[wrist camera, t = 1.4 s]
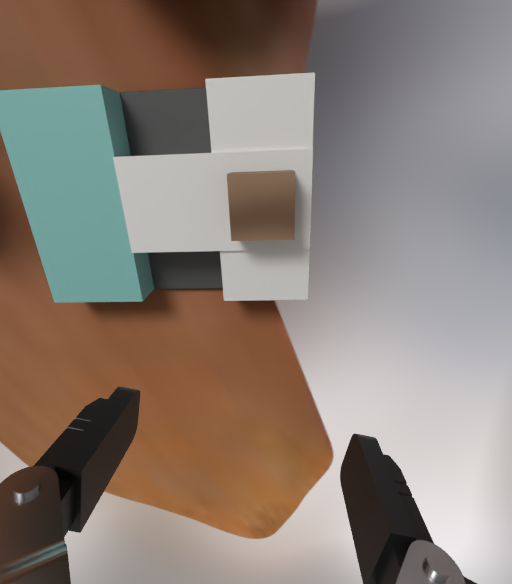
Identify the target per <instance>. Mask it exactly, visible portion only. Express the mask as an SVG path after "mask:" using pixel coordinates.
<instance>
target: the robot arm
mask: <svg viewBox="0 0 512 584" xmlns="http://www.w3.org/2000/svg"><path fill="white" fill-rule="evenodd" d="M139 402H140V391H139V390H134V389H129V388H124V387H118V388H117V389H116V390H115V391H114V392H113V394H112V395H111V396H110V397H109V399H103V398H99V399H97V400H95V401H94V402H92V403H90V404H89V405H87V406H86V407H85V408H84V409H83V410H82V411H81V412H80V413H79V415H78V416H77V417H76V419H74V420H73V421H72V423H71V424H70V425H69V426H68V428H67V429H65V431H64V432H63V433H62V434H61V435H60V436H59V437H58V439H57V440H56V441H55V442H54V443H53V444H52V446H51V447H50V448H49V449H48V450H47V451H46V452H45V454H44V455H43V456H42V457H41V458H40V459H39V460H38V462H37V463H36V464H35V465H34V466H31V467H27V468H24V469H21V470H19V471H17V472H15V473H13V474H11V475H10V476H9V477H7V478H6V479H5V480H4V481H3V482H2V483H0V584H71V582H70V572H69V562H68V553H67V546H66V544H65V541H64V537H65V535H66V533H67V532H68V530H69V531H75V532H81V531H82V529H83V527H84V525H85V523H86V522H87V520H88V518H89V516H90V515H91V513H92V511H93V510H94V508H95V506H96V504H97V502H98V501H99V499H100V497H101V495H102V494H103V492H104V490H105V488H106V487H107V485H108V483H109V481H110V480H111V478H112V476H113V474H114V472H115V471H116V469H117V467H118V465H119V464H120V462H121V460H122V458H123V457H124V455H125V453H126V451H127V450H128V448H129V446H130V444H131V442H132V440H133V438H134V436H135V433H136V429H137V424H138V414H139ZM340 480H341V486H342V491H343V495H344V500H345V504H346V509H347V513H348V518H349V522H350V526H351V531H352V535H353V540H354V544H355V548H356V553H357V558H358V562H359V567H360V571H361V576H362V580H363V584H476V583H474V582H473V581H471V580H469V579H467V578H465V577H464V576H463V575H462V573H461V571H460V569H459V567H458V566H457V564H456V563H455V562H454V560H452V558H451V557H450V556H449V555H448V554H447V553H446V552H445V551H443V550H442V549H441V548H440V547H438V546H437V545H435V544H434V543H433V541H432V539H431V536H430V534H429V532H428V530H427V527H426V525H425V523H424V521H423V518H422V516H421V514H420V512H419V509H418V507H417V505H416V503H415V501H414V498H412V494H411V492H410V489H409V487H408V486H407V485H406V480H405V478H404V476H403V474H402V472H401V469H400V468H399V467H398V465H397V464H396V463H395V462H394V461H393V460H392V459H391V457H390V456H388V455H383V453H382V451H381V449H380V446H379V443H378V441H377V439H376V438H374V437H369V436H364V435H359V434H353V436H352V437H351V440H350V443H349V446H348V449H347V451H346V454H345V457H344V460H343V463H342V466H341V473H340Z"/></svg>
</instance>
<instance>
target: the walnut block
mask: <svg viewBox="0 0 512 584" xmlns="http://www.w3.org/2000/svg"><path fill="white" fill-rule="evenodd" d="M227 187H228V201H229V216H230V230H231V241H257V240H295V171H294V170H283V171H256V172H231V173H228V174H227Z"/></svg>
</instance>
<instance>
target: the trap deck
mask: <svg viewBox="0 0 512 584" xmlns="http://www.w3.org/2000/svg"><path fill="white" fill-rule="evenodd" d="M205 81H206V88H192V89H174V90H156V91H138V92H117V91H115V90H112V89H110V88H107V87H105V86H102V85H88V86H71V87H53V88H35V89H18V90H0V131H1V134H2V137H3V141H4V144H5V147H6V150H7V153H8V156H9V160H10V163H11V166H12V169H13V172H14V176H15V179H16V182H17V185H18V188H19V191H20V195H21V198H22V201H23V204H24V207H25V210H26V214H27V217H28V220H29V223H30V226H31V229H32V233H33V236H34V239H35V242H36V245H37V248H38V252H39V255H40V258H41V261H42V264H43V268H44V271H45V274H46V277H47V280H48V283H49V287H50V290H51V293H52V296H53V299H54V302H143V301H144V300H145V299H146V297H147V296H148V295H149V294H150V293H151V292H152V291H153V290H154V289H189V288H223V295H224V301H251V300H308V289H309V256H310V235H311V202H312V169H313V124H314V121H313V120H314V91H315V90H314V89H315V73H299V74H282V75H264V76H247V77H229V78H211V79H205ZM283 170H294V171H295V240H257V241H231V230H230V216H229V201H228V187H227V174H228V173H231V172H256V171H283Z"/></svg>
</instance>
